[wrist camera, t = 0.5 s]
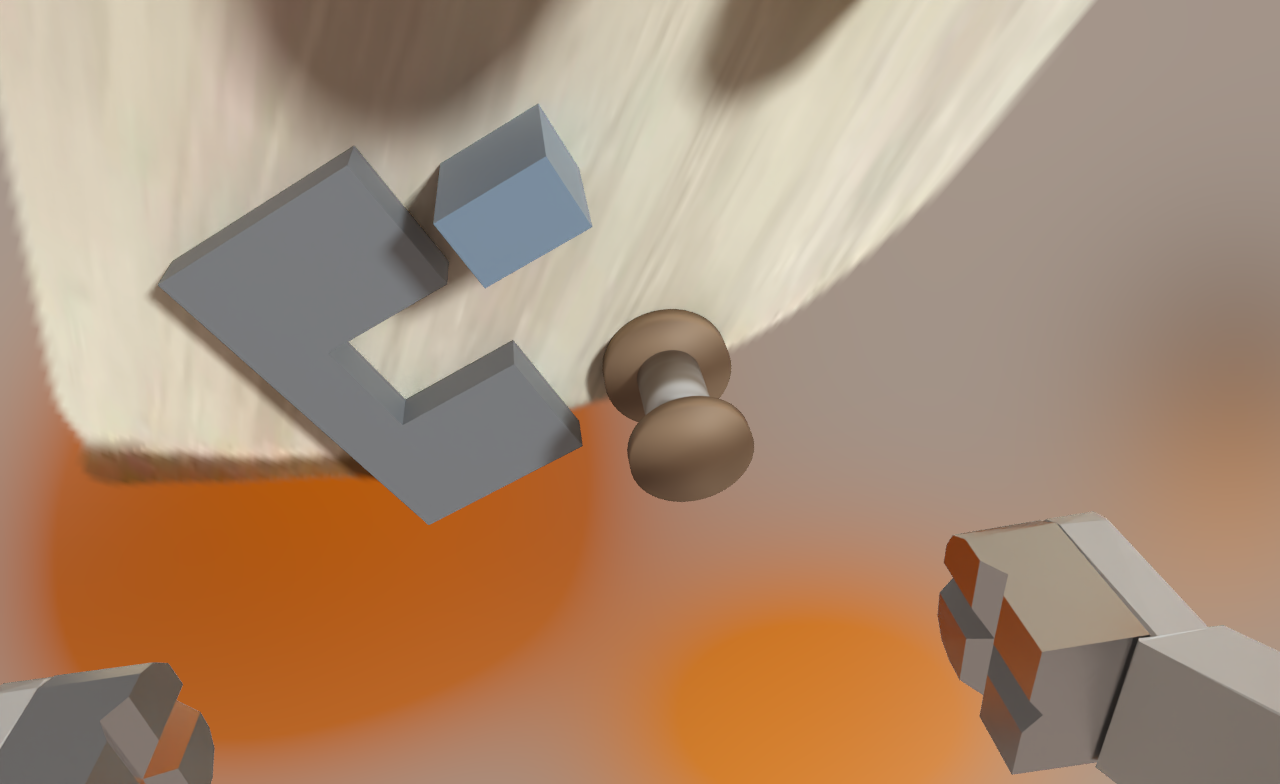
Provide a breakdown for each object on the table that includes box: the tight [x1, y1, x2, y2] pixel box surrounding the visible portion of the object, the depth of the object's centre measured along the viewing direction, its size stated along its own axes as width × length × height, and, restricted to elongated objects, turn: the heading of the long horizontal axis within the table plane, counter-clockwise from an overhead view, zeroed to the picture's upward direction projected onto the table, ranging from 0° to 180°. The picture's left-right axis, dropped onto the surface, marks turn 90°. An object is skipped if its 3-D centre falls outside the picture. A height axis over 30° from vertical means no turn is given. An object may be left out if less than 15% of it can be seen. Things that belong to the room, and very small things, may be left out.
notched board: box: [158, 146, 582, 525], centre depth 47 cm, size 22×12×2 cm, turn 28°
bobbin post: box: [603, 309, 754, 502], centre depth 48 cm, size 8×8×9 cm
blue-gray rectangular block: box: [433, 104, 592, 288], centre depth 40 cm, size 4×6×7 cm, turn 118°
